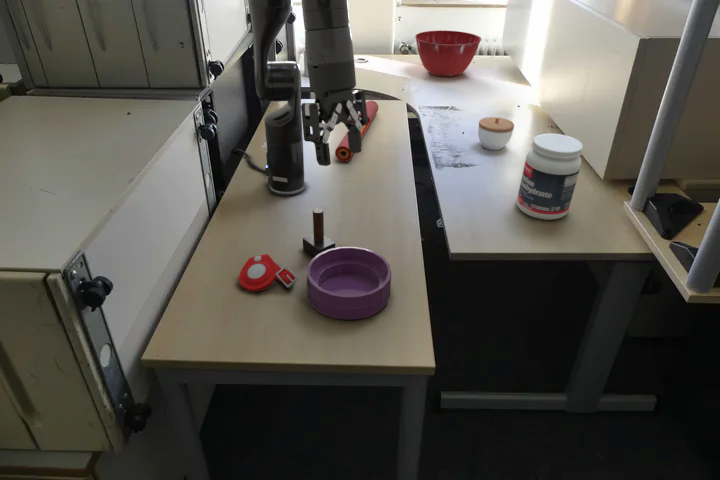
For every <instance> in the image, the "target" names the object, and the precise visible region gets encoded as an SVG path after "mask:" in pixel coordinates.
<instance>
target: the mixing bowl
mask: <svg viewBox="0 0 720 480" xmlns="http://www.w3.org/2000/svg"><path fill="white" fill-rule="evenodd" d="M414 38H415V42H416V47H417V52H418V55H419V59H420V62H421V63H422V66H423V68H424V69H425V70H426V71H427V72H428V73H430V74H431V75H433V76H435V77H444V78H446V77H448V78H449V77H450V78H451V77H456V76H459V75H461V74H462V73H464V72H465V71H466V70H467V69H468V68H469V66H470V64H471V63H472V61H473V59H474V57H475V56H476V54H477V51H478V48H479V46H480V43H481V41H482V38H481V36H479V35H477V34H474V33H470V32H465V31H457V30H427V31H422V32H418V33H416V34H415V36H414Z"/></svg>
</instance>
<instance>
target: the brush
mask: <svg viewBox="0 0 720 480" xmlns="http://www.w3.org/2000/svg"><path fill="white" fill-rule="evenodd" d="M324 219H325V218H324V209H323V208H321V207H315V208H313V209H312V227H313V228H312V229H313V233H311V234H309V235H306V236H304V237H302V251H303V253H305V254H306V255H308V256H309V257H310V258H311V259H313V258H314V257H315V256H317V255H318V254H319V253H322V252H324V251H326V250H329V249H333V248H336V242H335V241H333V239H330V238H329V237H327V235H325V229H324V228H325V225H324V224H325V222H324Z"/></svg>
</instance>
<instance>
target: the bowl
mask: <svg viewBox="0 0 720 480" xmlns="http://www.w3.org/2000/svg"><path fill="white" fill-rule="evenodd" d="M391 283H392V269H391V265H390V263H389V262H388V260H387V259H386V258H385V257H384V256H383V255H381V254H379V253H377V252H376V251H373V250H370V249H368V248H364V247H359V246H338V247H335V248H333V249H329V250H326V251H324V252H322V253H319V254H318V255H317V256H315V257H314V258H311V260H310V261H309V263H308V265H307V266H306V291H307V299H308V301H309V303H310V305H311V306H312V307H313V308H314V309H315V310H317V311H318V312H319V313H320V314H323V315H325V316H328V317H329V318H333V319H339V320H360V319H365V318H368V317H371V316H374V315H375V314H377V313H378V312H380V311H382V310H383V308H384V307H385V306H386V305H387V304H388V302H389V300H390V297H391V288H392V287H391V286H392V284H391Z"/></svg>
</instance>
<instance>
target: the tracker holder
mask: <svg viewBox="0 0 720 480" xmlns="http://www.w3.org/2000/svg"><path fill="white" fill-rule="evenodd" d="M276 280H277V281H278V282H279V283H281V285H283V286H285V287H286V288H287V289H289V288H290V287H291V286H292V285H294V284H295V283H296V282H297V281H298V280H299V278H298V277H297V275H296V274H295V273H294V272H293V271H292V270H291V269H290V268H289V266H287V265H284V266H283V267H280V266H279V265H278V264H277V263H276V262H275V261H274V260H273V258H272V257H271V255H270V254H268V253H264V254H259V255H255V256H251V257H249V258H248V259H247V260H246V262H245V263H244V265H243V266H242V268H241V269H240V272H239V274H238V282H239V284H240V286H241V287H242V288H243V289H244V290H245V291H248V292H255V293H256V292H261V291H263V290H265V289H267V288H269V287H270V286H271V285H273V284H274V282H275V281H276Z"/></svg>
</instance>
